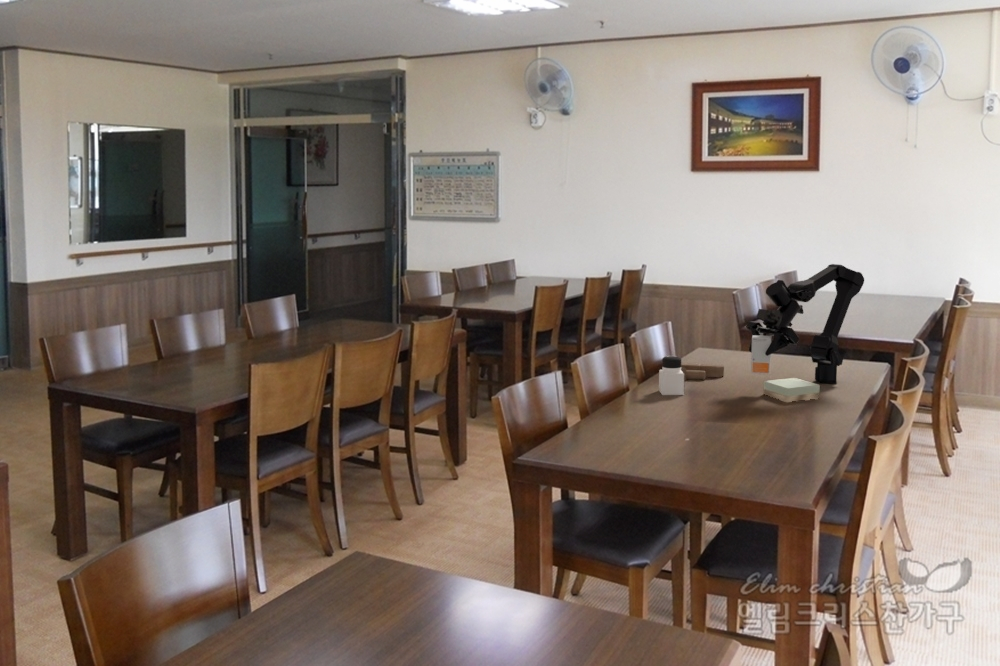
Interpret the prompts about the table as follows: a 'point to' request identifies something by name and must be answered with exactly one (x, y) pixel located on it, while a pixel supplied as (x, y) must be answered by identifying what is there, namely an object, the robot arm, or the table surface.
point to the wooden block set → (701, 370)
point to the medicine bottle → (671, 376)
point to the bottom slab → (791, 398)
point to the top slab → (791, 386)
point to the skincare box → (760, 355)
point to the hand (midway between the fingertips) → (757, 353)
